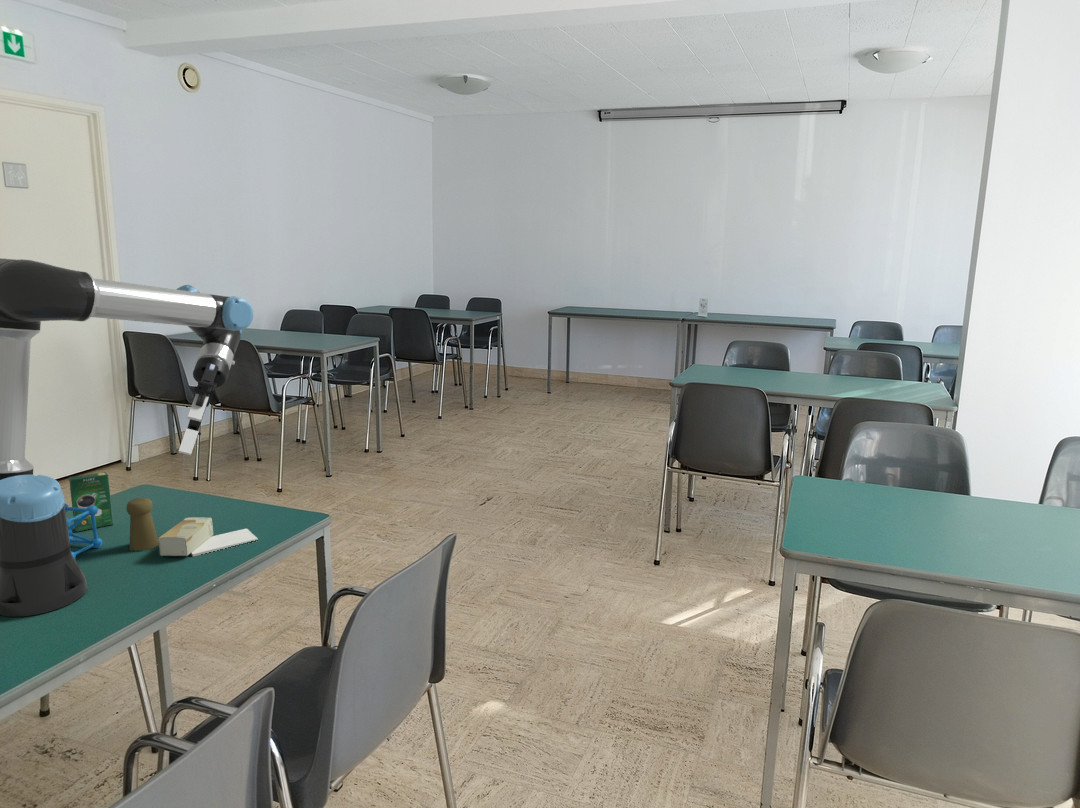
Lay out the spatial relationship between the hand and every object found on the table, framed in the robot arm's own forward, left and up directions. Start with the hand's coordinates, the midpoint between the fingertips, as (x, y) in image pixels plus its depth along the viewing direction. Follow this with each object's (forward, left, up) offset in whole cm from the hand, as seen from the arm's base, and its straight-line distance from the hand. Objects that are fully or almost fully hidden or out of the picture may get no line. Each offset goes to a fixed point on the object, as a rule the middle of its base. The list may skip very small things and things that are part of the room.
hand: (189, 436), depth 167 cm
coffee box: (-17, +26, -25) cm, 40 cm away
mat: (+4, -3, -25) cm, 25 cm away
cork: (-10, +6, -25) cm, 28 cm away
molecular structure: (-24, +12, -25) cm, 37 cm away
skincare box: (+1, +4, -22) cm, 23 cm away
